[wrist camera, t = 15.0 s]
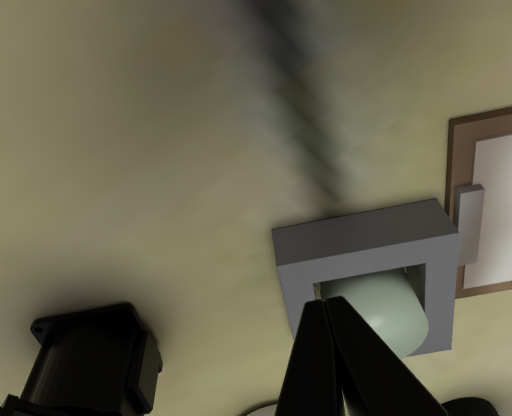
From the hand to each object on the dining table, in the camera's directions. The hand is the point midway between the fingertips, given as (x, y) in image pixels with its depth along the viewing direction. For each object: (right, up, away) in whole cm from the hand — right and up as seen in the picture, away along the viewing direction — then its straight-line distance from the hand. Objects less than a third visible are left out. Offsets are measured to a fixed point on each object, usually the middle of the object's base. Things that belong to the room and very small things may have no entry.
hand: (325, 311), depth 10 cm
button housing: (+5, -2, +17) cm, 18 cm away
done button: (+5, -2, +16) cm, 17 cm away
